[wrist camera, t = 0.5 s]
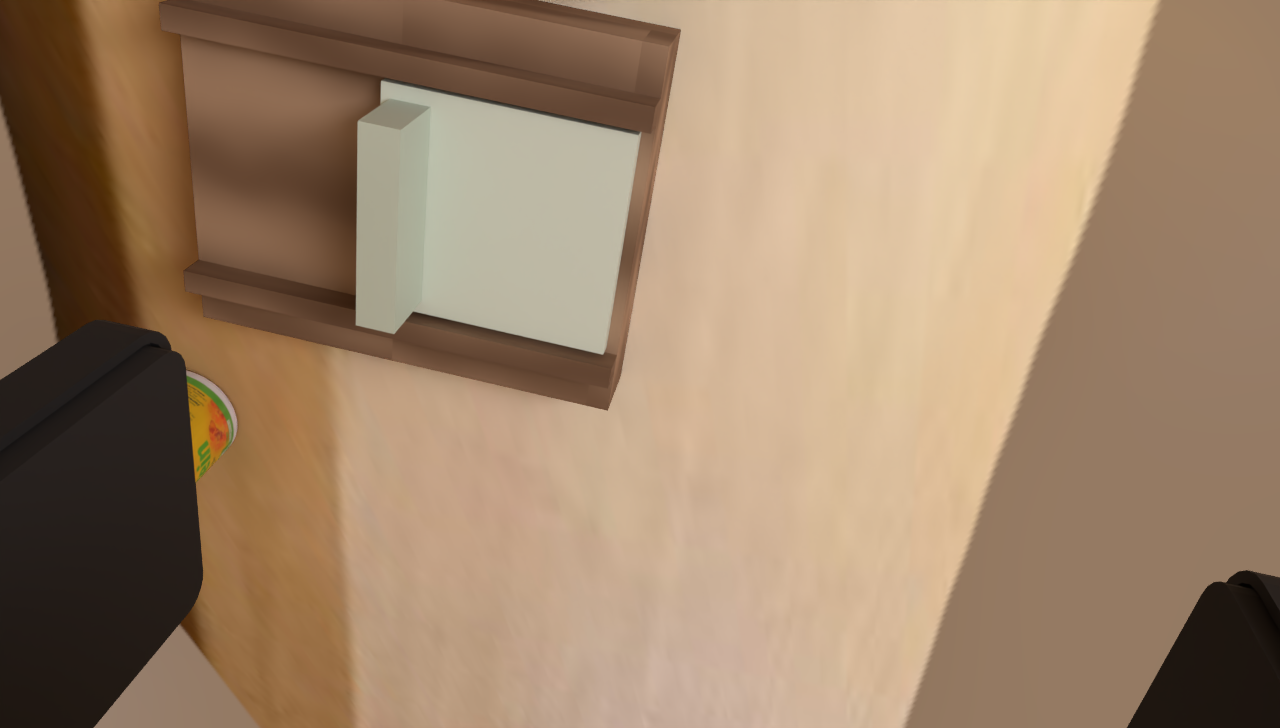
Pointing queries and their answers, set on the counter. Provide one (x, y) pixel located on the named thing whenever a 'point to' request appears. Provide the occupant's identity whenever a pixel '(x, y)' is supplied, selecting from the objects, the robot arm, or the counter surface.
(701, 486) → the counter surface
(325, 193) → the brown box
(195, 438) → the supplement bottle
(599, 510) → the counter surface
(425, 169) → the lid
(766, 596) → the counter surface
